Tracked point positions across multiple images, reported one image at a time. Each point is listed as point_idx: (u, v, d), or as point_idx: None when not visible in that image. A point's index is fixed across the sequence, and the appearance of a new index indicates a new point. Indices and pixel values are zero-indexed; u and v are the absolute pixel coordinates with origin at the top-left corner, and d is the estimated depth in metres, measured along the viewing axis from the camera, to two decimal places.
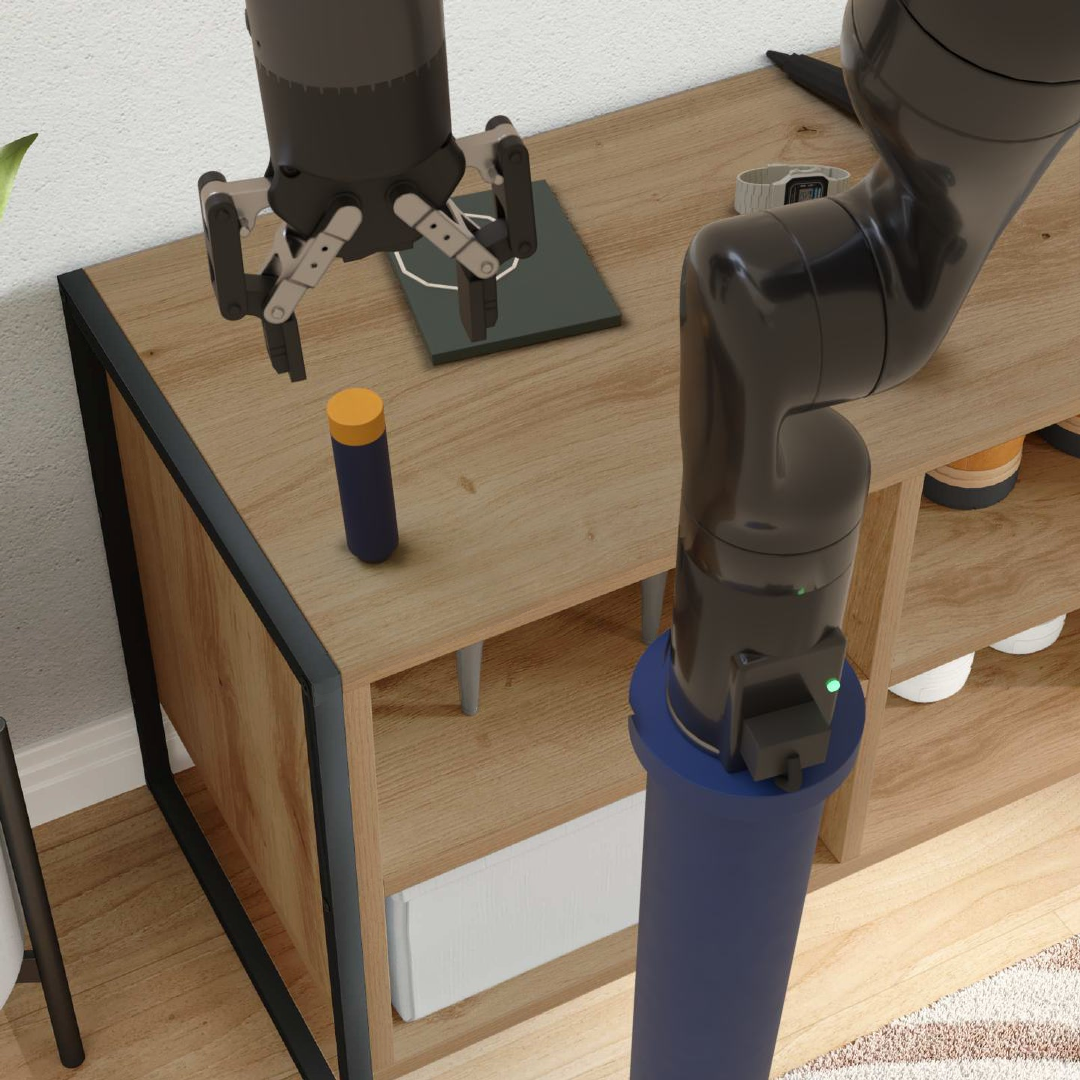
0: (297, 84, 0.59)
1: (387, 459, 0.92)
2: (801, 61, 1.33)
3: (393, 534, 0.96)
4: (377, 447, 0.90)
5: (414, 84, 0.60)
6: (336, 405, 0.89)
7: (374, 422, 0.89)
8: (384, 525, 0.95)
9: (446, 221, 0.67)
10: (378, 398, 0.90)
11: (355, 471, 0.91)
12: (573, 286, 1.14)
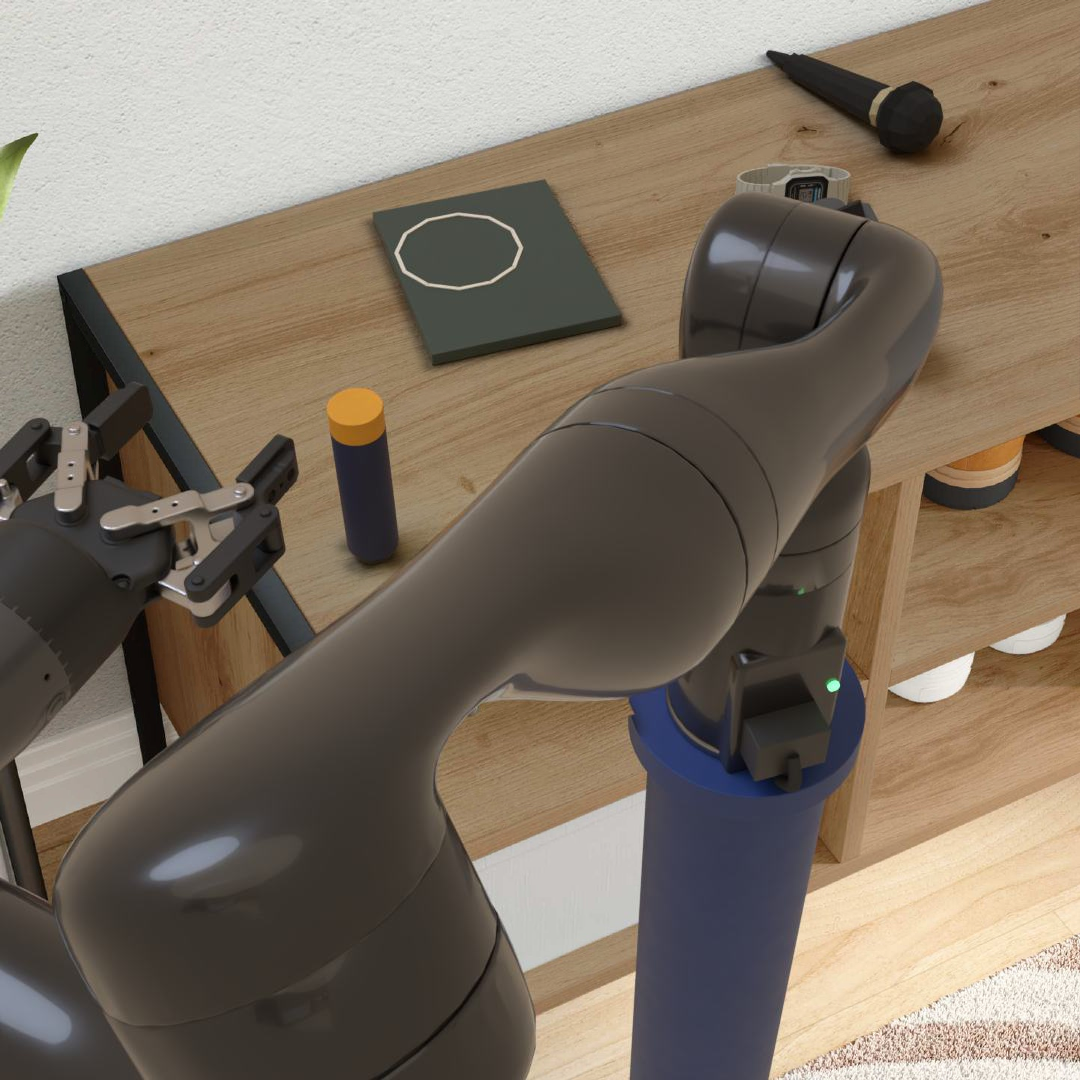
0: (32, 625, 0.64)
1: (387, 459, 0.92)
2: (801, 61, 1.33)
3: (393, 534, 0.96)
4: (377, 447, 0.90)
5: None
6: (336, 405, 0.89)
7: (374, 422, 0.89)
8: (384, 525, 0.95)
9: (58, 475, 0.72)
10: (378, 398, 0.90)
11: (355, 471, 0.91)
12: (573, 286, 1.14)
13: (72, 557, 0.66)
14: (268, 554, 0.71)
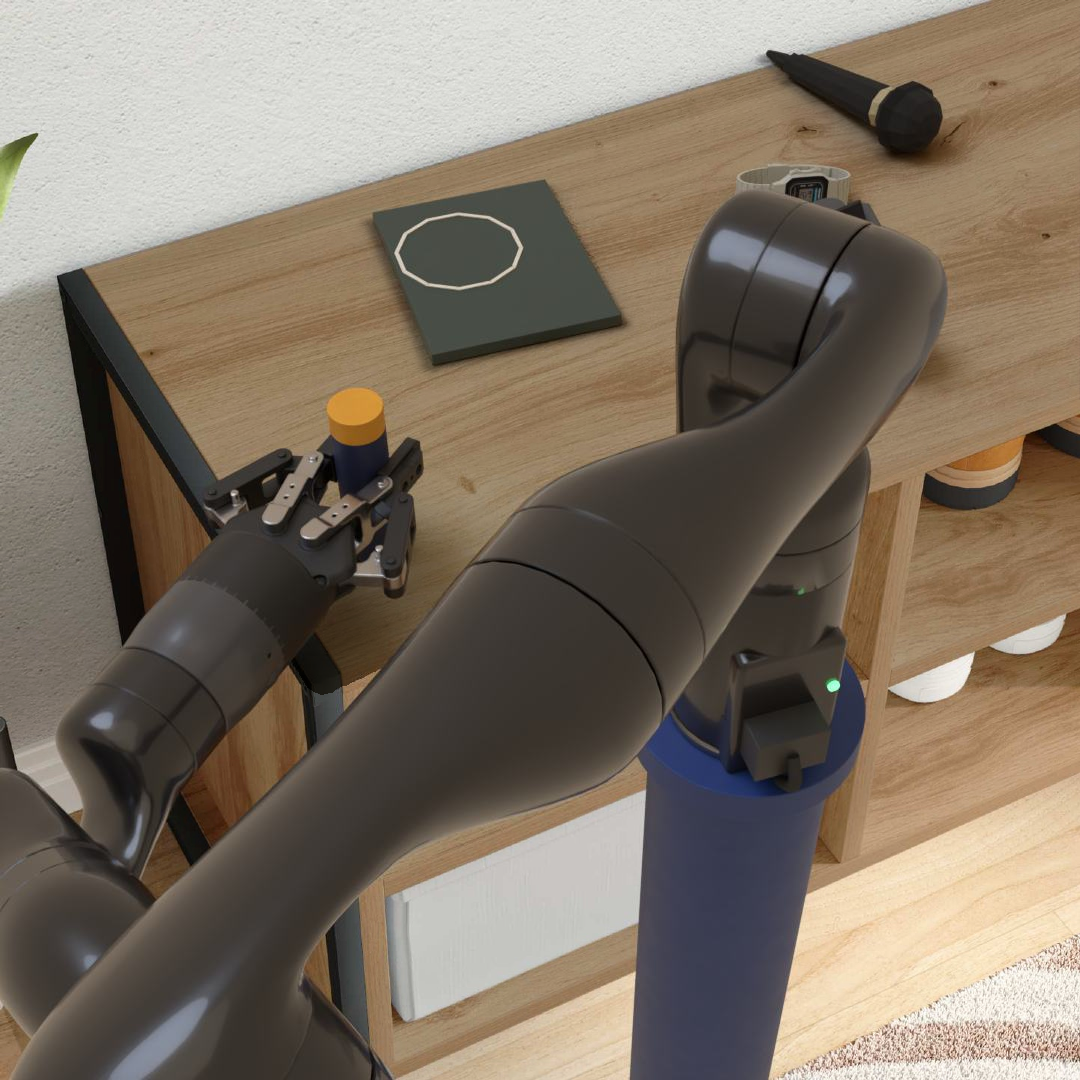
0: (259, 615, 0.82)
1: (387, 459, 0.92)
2: (801, 61, 1.33)
3: None
4: (377, 447, 0.90)
5: (194, 572, 0.83)
6: (336, 405, 0.89)
7: (374, 422, 0.89)
8: (384, 525, 0.95)
9: (279, 492, 0.89)
10: (378, 398, 0.90)
11: (355, 471, 0.91)
12: (573, 286, 1.14)
13: (285, 561, 0.84)
14: (410, 531, 0.90)
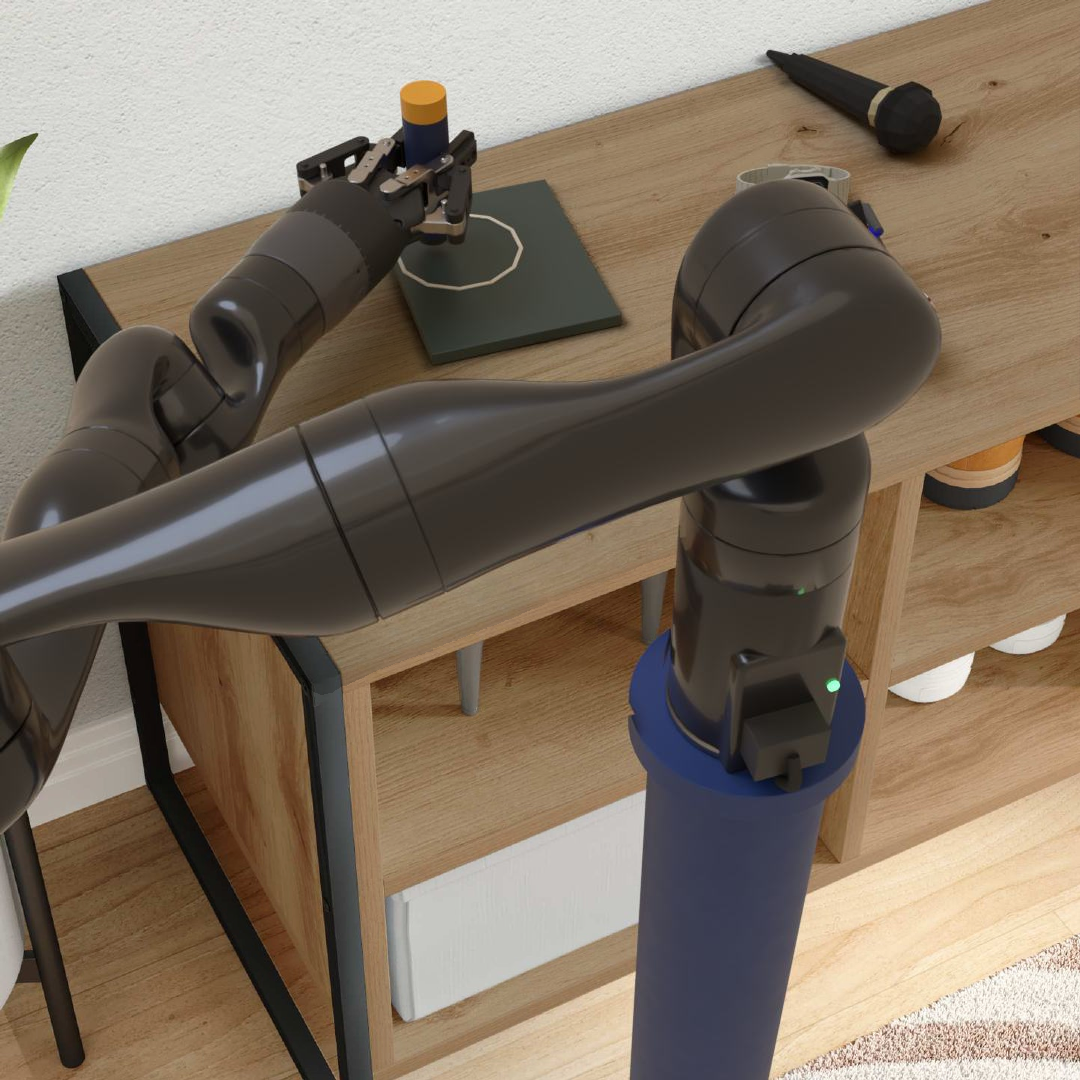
0: (350, 237, 1.01)
1: (448, 143, 1.11)
2: (801, 61, 1.33)
3: None
4: (440, 128, 1.09)
5: (297, 207, 1.02)
6: (408, 91, 1.09)
7: (439, 103, 1.08)
8: None
9: (360, 163, 1.09)
10: (442, 87, 1.09)
11: (421, 150, 1.10)
12: (573, 286, 1.14)
13: (370, 200, 1.03)
14: None
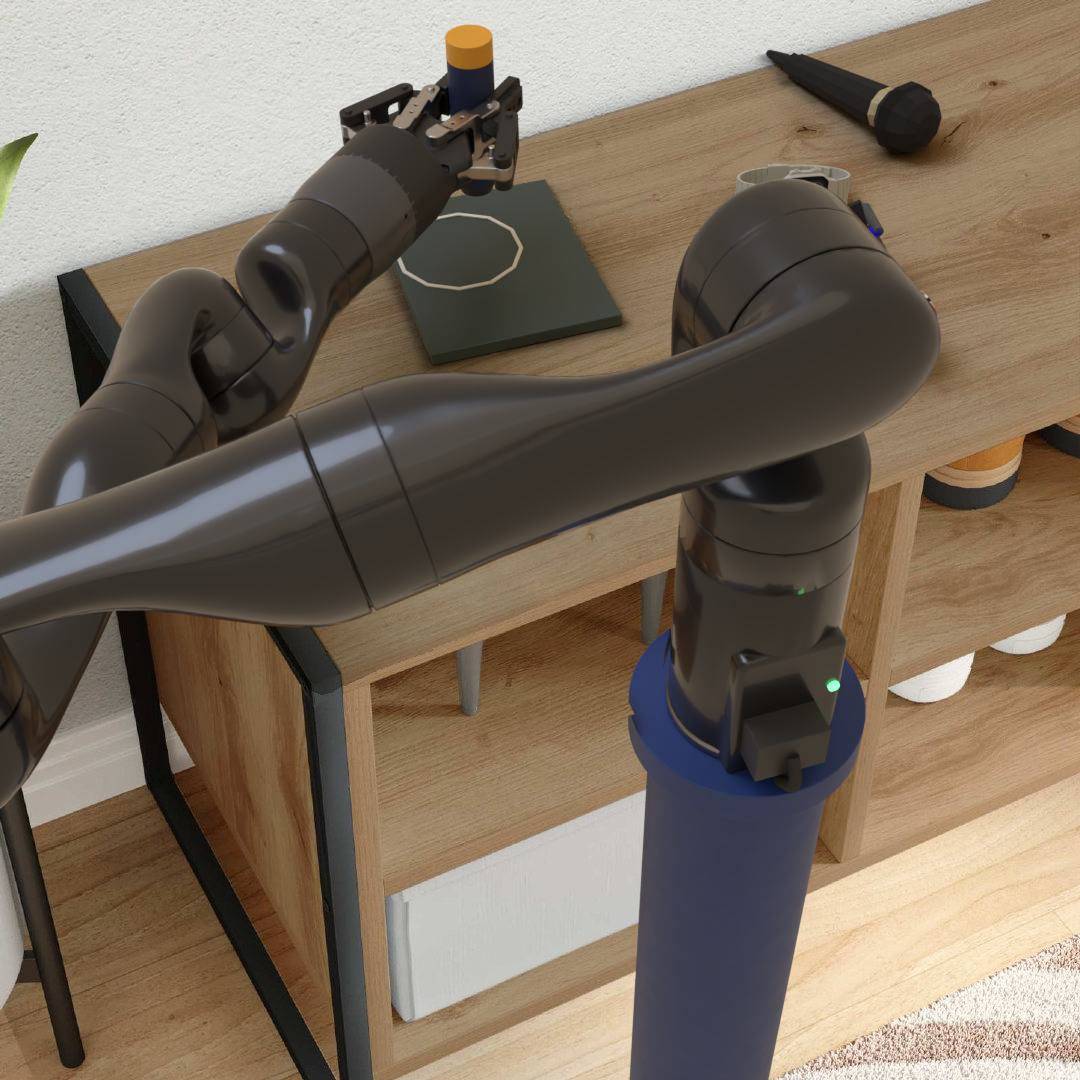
0: (398, 181, 0.99)
1: (493, 89, 1.09)
2: (801, 61, 1.33)
3: None
4: (486, 73, 1.07)
5: (342, 151, 1.00)
6: (453, 35, 1.06)
7: (485, 47, 1.06)
8: None
9: (405, 109, 1.06)
10: (488, 31, 1.07)
11: (466, 96, 1.08)
12: (573, 286, 1.14)
13: (417, 145, 1.01)
14: None
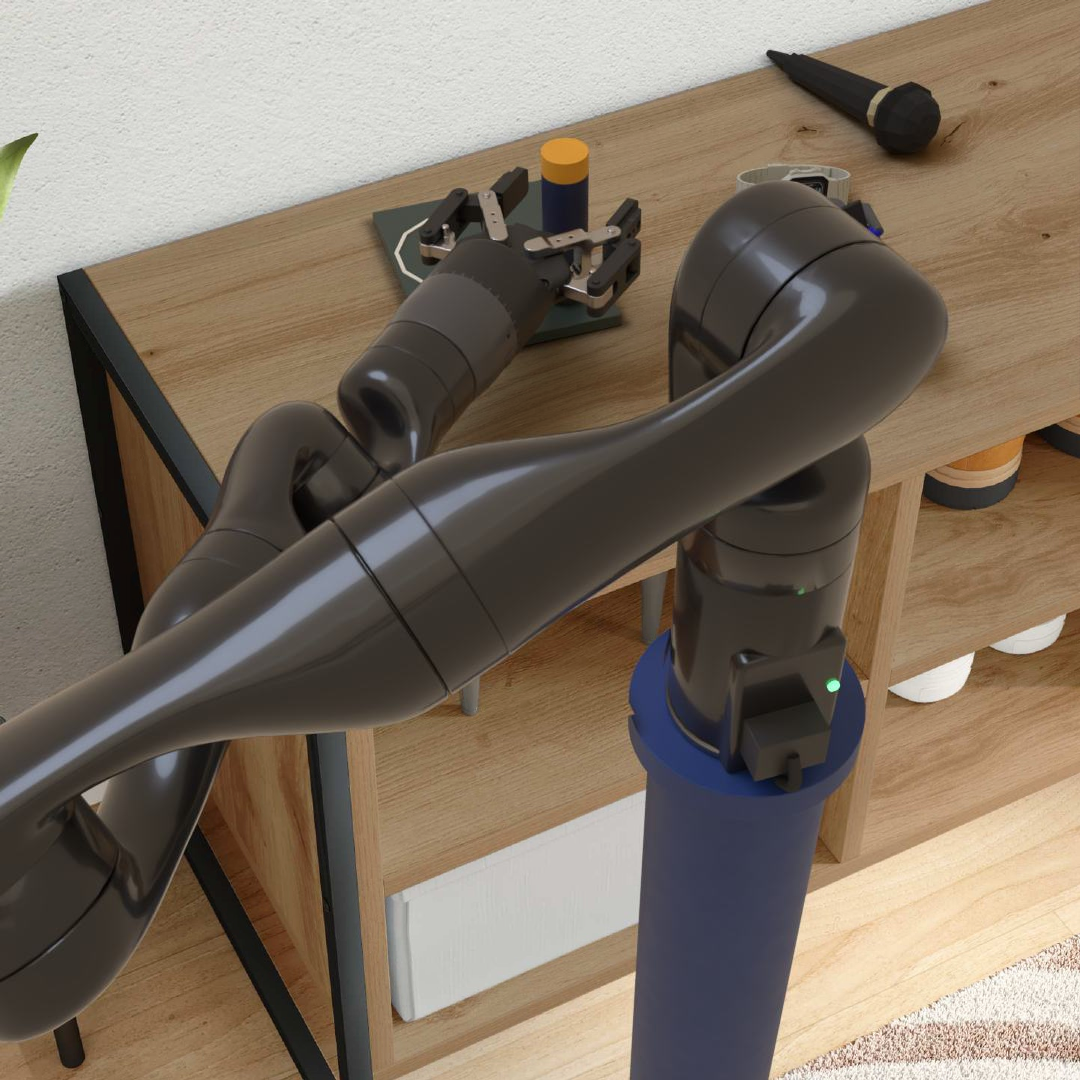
0: (500, 301, 0.97)
1: (587, 202, 1.08)
2: (800, 61, 1.33)
3: None
4: (581, 188, 1.06)
5: (443, 268, 0.98)
6: (549, 150, 1.05)
7: (582, 163, 1.05)
8: None
9: (486, 220, 1.04)
10: (584, 145, 1.06)
11: (561, 209, 1.07)
12: None
13: (518, 261, 0.99)
14: (631, 273, 1.04)
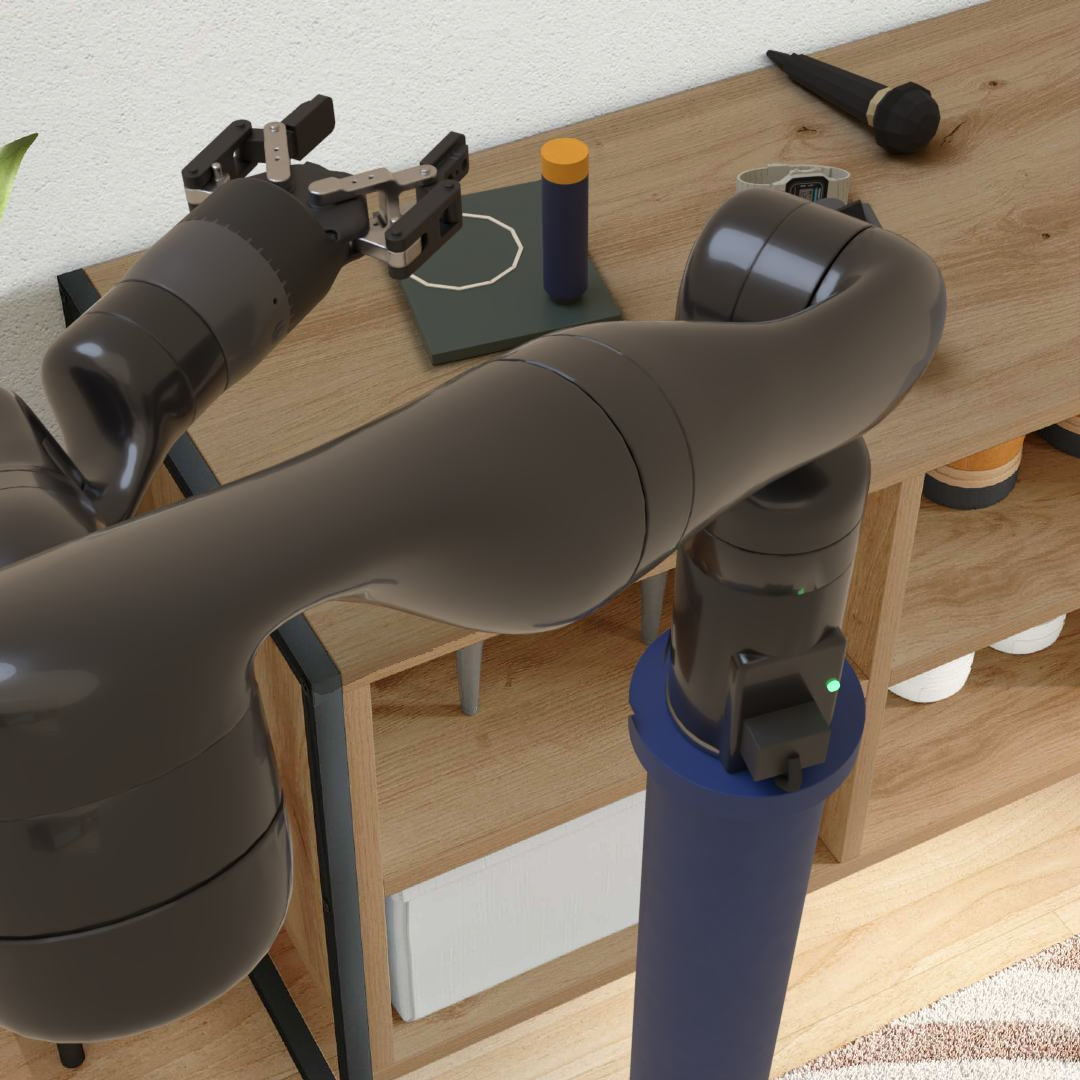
0: (264, 255, 0.75)
1: (587, 202, 1.08)
2: (800, 61, 1.33)
3: (585, 276, 1.12)
4: (581, 188, 1.06)
5: (193, 214, 0.76)
6: (549, 150, 1.05)
7: (582, 163, 1.05)
8: (580, 265, 1.10)
9: (266, 157, 0.82)
10: (584, 145, 1.06)
11: (561, 209, 1.07)
12: None
13: (292, 206, 0.77)
14: (449, 225, 0.82)
